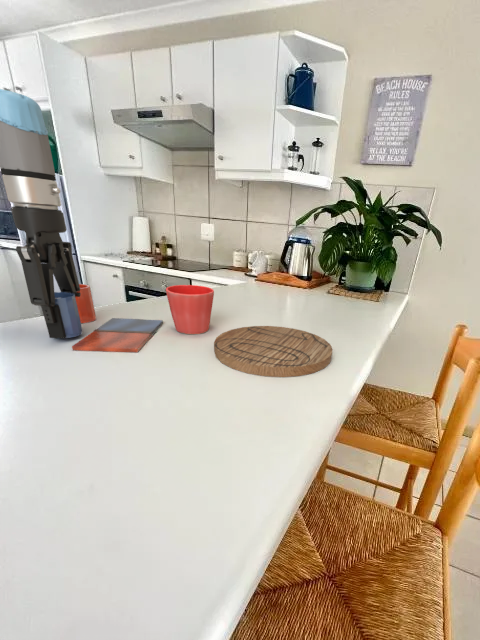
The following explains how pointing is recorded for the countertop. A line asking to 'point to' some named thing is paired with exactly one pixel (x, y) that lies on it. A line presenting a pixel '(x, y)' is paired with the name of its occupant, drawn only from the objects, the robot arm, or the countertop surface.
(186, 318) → the flower pot
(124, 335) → the board
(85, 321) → the red cup
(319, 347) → the trivet
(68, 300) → the blue cup
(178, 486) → the countertop surface
